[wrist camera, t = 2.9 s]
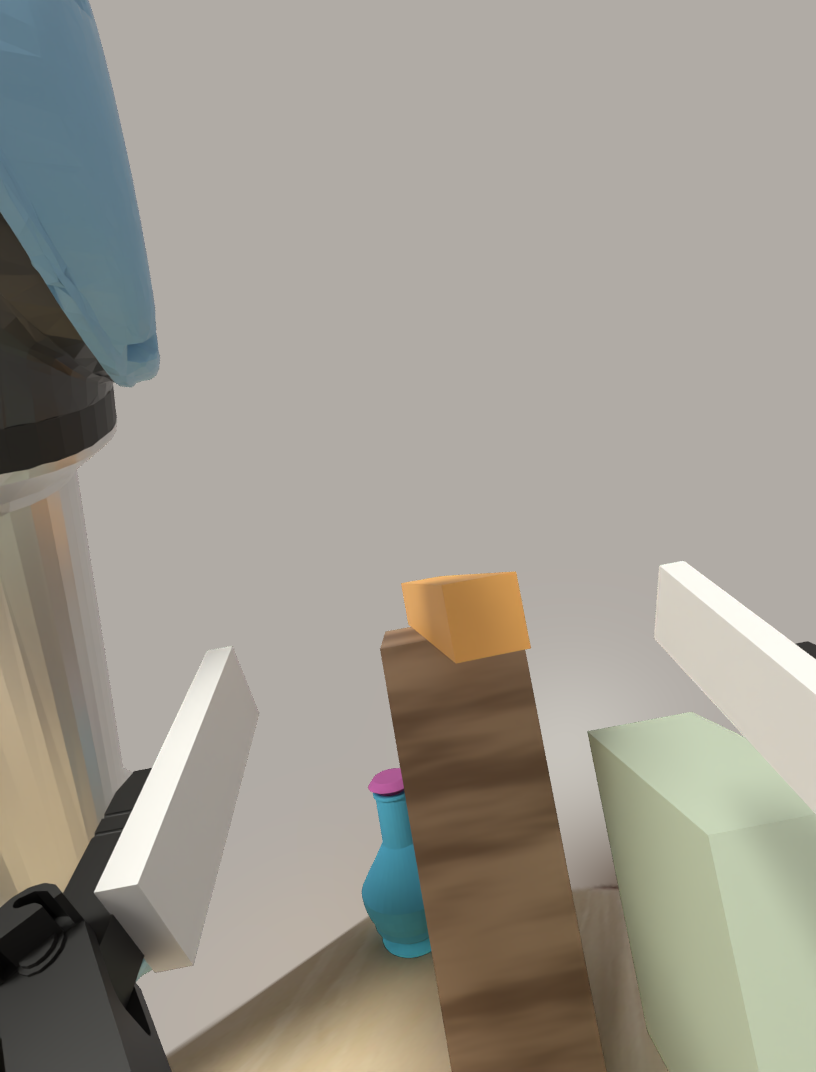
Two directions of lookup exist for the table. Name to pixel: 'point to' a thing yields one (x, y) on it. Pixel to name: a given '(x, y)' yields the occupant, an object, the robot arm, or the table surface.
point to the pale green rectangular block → (713, 894)
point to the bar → (468, 614)
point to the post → (490, 861)
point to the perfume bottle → (395, 874)
